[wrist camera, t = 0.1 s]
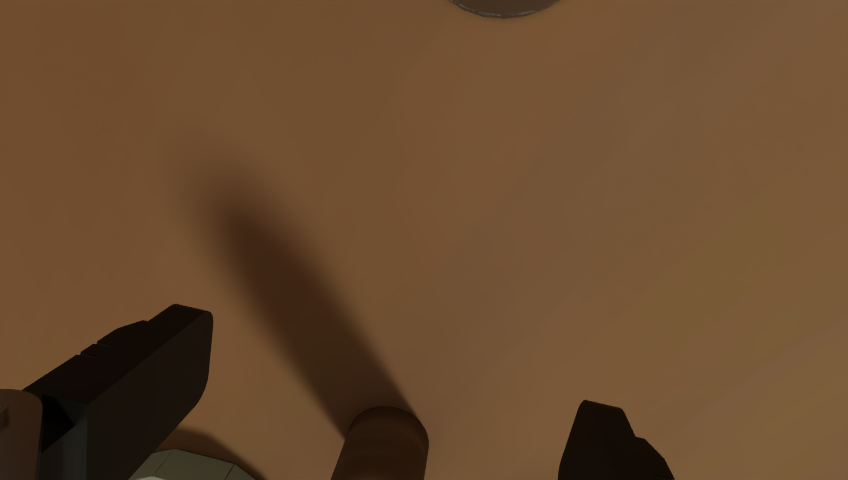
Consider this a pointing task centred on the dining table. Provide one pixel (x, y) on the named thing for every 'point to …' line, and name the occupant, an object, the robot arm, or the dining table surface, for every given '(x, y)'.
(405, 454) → the wooden peg figure
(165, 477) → the round tray
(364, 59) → the dining table surface
